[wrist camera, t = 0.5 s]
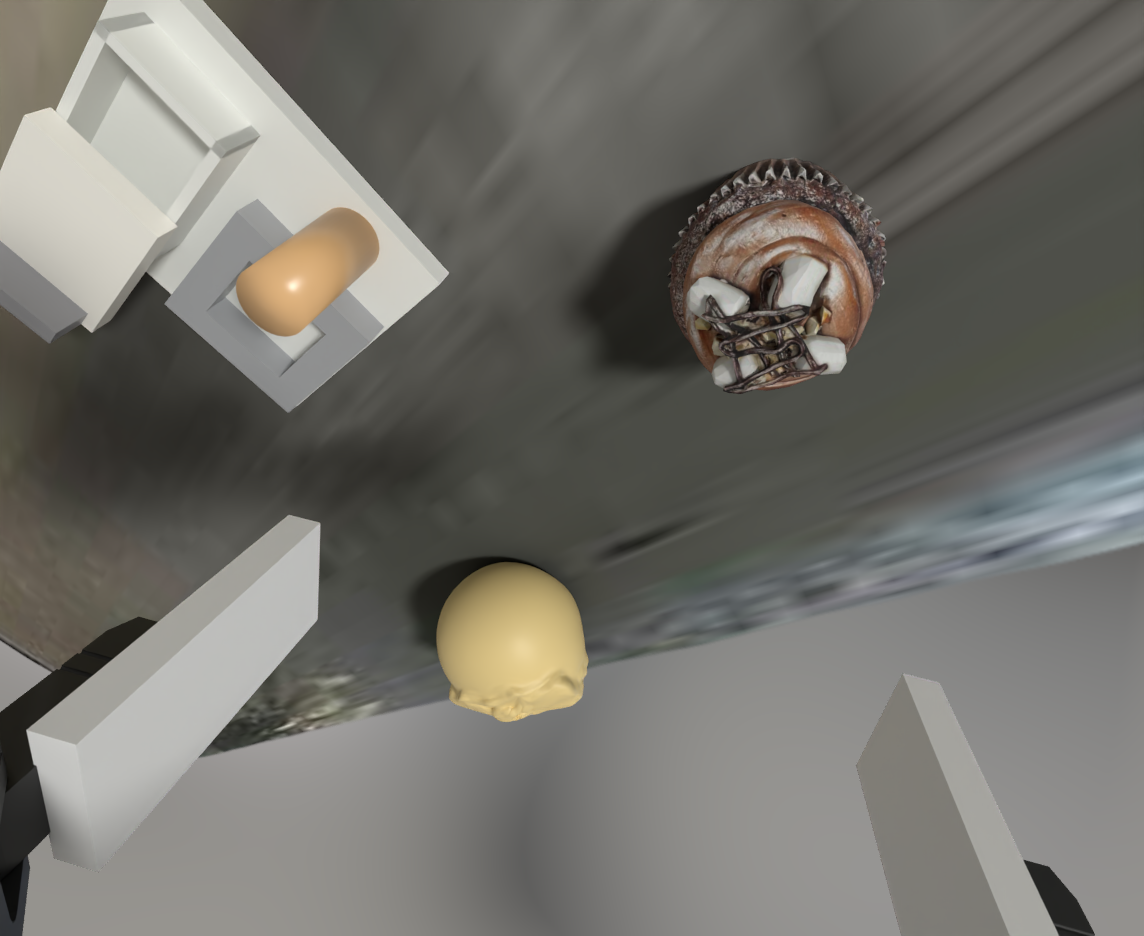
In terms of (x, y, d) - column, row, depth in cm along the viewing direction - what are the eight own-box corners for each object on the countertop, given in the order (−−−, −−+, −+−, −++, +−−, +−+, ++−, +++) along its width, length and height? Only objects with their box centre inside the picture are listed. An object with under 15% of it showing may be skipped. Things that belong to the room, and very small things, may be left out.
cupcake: (902, 275, 34) (939, 381, 27) (726, 349, 39) (715, 456, 32) (834, 94, 30) (854, 160, 23) (645, 202, 35) (610, 286, 27)
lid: (50, 107, 34) (-19, 127, 31) (177, 226, 37) (125, 255, 34) (-4, 224, 39) (-67, 251, 36) (110, 320, 42) (60, 352, 39)
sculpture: (507, 643, 63) (469, 751, 55) (437, 556, 58) (383, 664, 50) (616, 628, 58) (591, 745, 50) (552, 532, 52) (512, 647, 44)
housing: (154, -54, 32) (-19, -39, 25) (449, 273, 40) (379, 354, 33) (49, 160, 41) (-101, 215, 34) (307, 394, 49) (228, 479, 42)
